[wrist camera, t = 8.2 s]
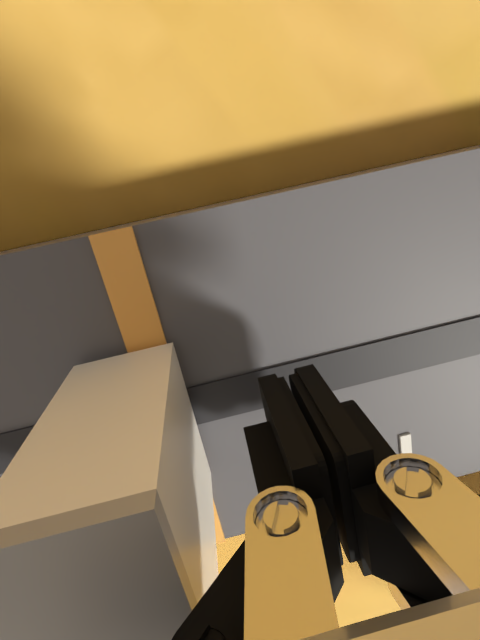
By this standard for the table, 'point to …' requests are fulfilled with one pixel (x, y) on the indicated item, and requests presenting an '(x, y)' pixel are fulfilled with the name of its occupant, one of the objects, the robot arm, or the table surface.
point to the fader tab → (108, 508)
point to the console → (271, 311)
